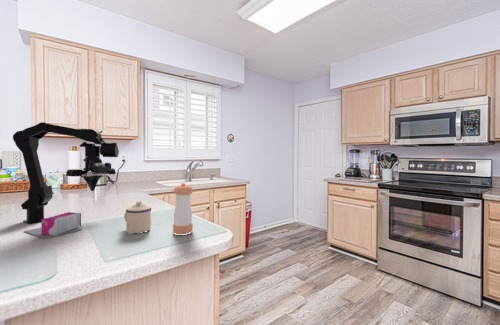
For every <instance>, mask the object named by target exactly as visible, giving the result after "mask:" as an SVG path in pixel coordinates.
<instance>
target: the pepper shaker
mask: <svg viewBox="0 0 500 325" xmlns="http://www.w3.org/2000/svg"><path fill="white" fill-rule="evenodd" d="M173 193H174V195H175V206H174V208H175V209H174V211H173V222H174V223H173V224H172V234H173V233H176V234H186V233H189V232H191V231H192V232H193V222H192V219H193V218H192V217H193V213H192V208H191V207H192V206H191V194H192V193H193V188H192V186H190V185H187V184H186V183H181V184H180V185H177V186H175V187H174V189H173Z"/></svg>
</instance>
